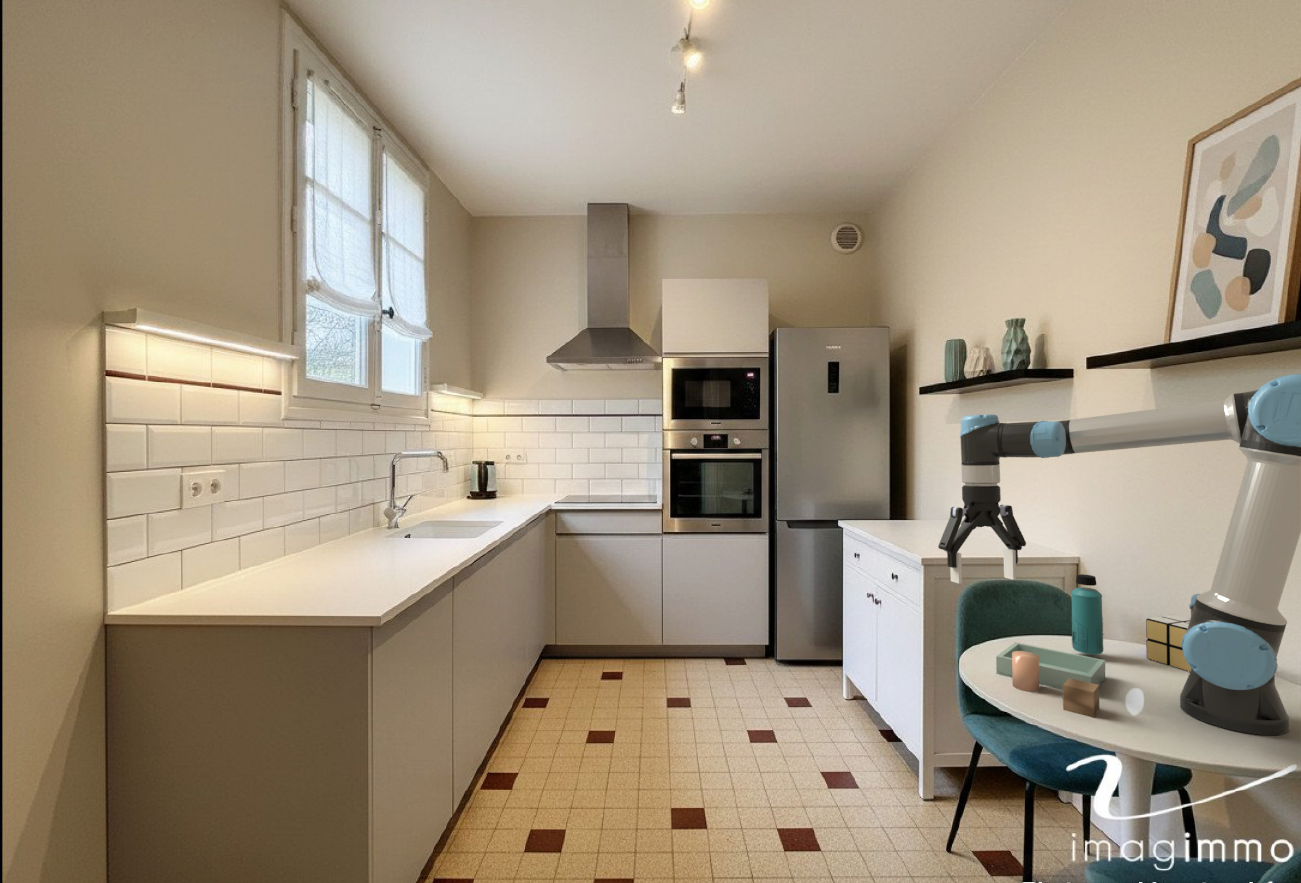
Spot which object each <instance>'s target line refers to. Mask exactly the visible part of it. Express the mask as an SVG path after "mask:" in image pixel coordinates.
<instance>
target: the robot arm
mask: <svg viewBox="0 0 1301 883" xmlns="http://www.w3.org/2000/svg"><path fill="white" fill-rule="evenodd" d="M959 439H960V456H961V465H960V466H961V482H962V483H963V485H962V486H961V495H962V496H961V498H962V501H963V507H957V506H952V507H950V512H949V513H950V514H949V518H948V521H947V524H946V526H945V529H944V531H943V534H942V536H941V539H940V541H939V543H938V546H937V547H938V549H939V550H942V551H944V552H946V554H947V555H946V556H947V557H946V558H947V559H946V560H947V567H948V568H950V569H949V571H950V575H949V576H950V582H952V583H955V584H959V585H960V584H963V576H962V575H963V574H962V573H963V571H962V570H963V567H962V566H963V564H962V553H961V552H959V550H960V549H961V547H962V546H963V545H964V543H965V542H966V540H967V539H968V537H969V536H970V535H971V533H972V531H974V530H975V529H977V528H983V527H988V528H989V527H990V528H991V529H992V530H993V531H994V533H995V535H997V536H998V538H999V539H1000V540H1001V542H1002V543H1003V544H1004V546H1005V548H1003V549H1002V550H1003V551H1002V552H1003V577H1004V578H1005V579H1008V580H1012V581H1016V580H1017V564H1018V562H1019V556H1018V554H1019V553H1018V552H1019V551H1021V550H1022V549H1023V547H1026V545H1027V542H1026V539H1025V537H1024V535H1023V534H1022V531H1021V529H1020V526H1019V525H1018V522H1017V520H1016V519H1015V516H1014V511H1013V506H1012V505H1009V504H1007V505H1006V504H1000V505H999V503H1000V502H1001V487H1000V485H998V484H1000V482H1001V466H1000V465H1001V463H1000V459H1001V458H1040V459H1048V458H1060V457H1061V456H1063V455H1065V456H1066V455H1073V454H1081V453H1095V452H1105V451H1107V452H1108V451H1117V450H1118V451H1119V450H1128V449H1138V448H1149V447H1160V446H1161V447H1163V446H1172V445H1173V446H1175V445H1183V444H1185V445H1187V444H1195V443H1196V444H1197V443H1206V442H1218V441H1219V442H1220V441H1229V440H1231V441H1234V442H1236V443H1238V444H1239V446H1238V449H1239V451H1241V453H1242V454H1243V455H1244V456H1245V457H1246V460H1247V461H1246V465H1245V468H1244V472H1243V476H1242V479H1241V483H1240V486H1239V489H1238V494H1237V497H1236V500H1235V503H1234V508H1233V509H1232V513H1231V517H1230V520H1229V524H1228V528H1227V532H1226V535H1225V539H1224V542H1223V546H1222V549H1221V552H1220V556H1219V560H1218V564H1217V566H1216V570H1215V573H1214V576H1213V580H1212V583H1211V587H1210V589H1209V590H1207V591H1205V592H1202V593H1194V594H1193V595H1192V596H1191V597H1190V603H1189V605H1188V606H1189V609H1190V622H1189V625H1188V629H1187V632H1186V634H1185V635H1184V637H1183V639H1182V648H1183V649H1182V651H1183V654H1184V657H1185V659H1186V661H1187V663H1188V664H1189V666H1190V667H1191V672H1189V674H1188V676H1187V678H1186V682H1185V683H1184V685H1183V688H1182V690H1181V692H1180V696H1179V704H1180V705H1179V706H1180V708H1181V710H1182V711H1183V712H1184V713H1186V714H1187V715H1189V716H1190V717H1192V718H1195V719H1197V720H1199V721H1201V722H1204V723H1206V724H1209V725H1213V726H1215V727H1220V728H1222V729H1223V728H1224V729H1226V730H1230V731H1235V732H1240V733H1246V734H1253V735H1260V736H1261V735H1262V736H1279V735H1280V736H1281V735H1283V734H1286V733H1288V732H1289V730H1290V726H1289V725H1290V724H1289V722H1290V721H1289V719H1290V718H1289V715H1288V713H1287V710H1286V708H1285V705H1284V703H1283V701H1282V699H1281V697H1280V694H1279V692H1278V690H1277V687H1276V683H1275V678H1276V677H1275V675H1276V672H1277V670H1278V661H1277V660H1278V658H1277V657H1278V655H1279V654H1278V653H1279V650H1280V648H1281V644H1282V639H1283V637H1284V633H1285V630H1286V628H1287V624H1288V621H1287V619H1286V618H1285V617H1284V615H1282V613H1281V612H1280V610H1279V605H1280V602H1281V598H1282V595H1283V593H1284V588H1285V585H1286V582H1287V579H1288V576H1289V573H1290V570H1291V566H1292V562H1293V559H1294V556H1295V553H1296V549H1297V546H1298V543H1299V540H1300V536H1301V373H1294V374H1287V375H1282V376H1279V377H1277V378H1273V379H1271V380H1269V381H1268V382H1266V383H1265V384H1263V385H1261V386H1260V387H1259V388H1258V389H1256V390H1251V391H1247V392H1246V391H1245V392H1239V393H1231V394H1230V395H1229V396H1228V397H1227V398H1226V399H1223V400H1216V401H1210V402H1200V403H1193V404H1192V403H1191V404H1186V405H1178V406H1170V407H1159V408H1154V409H1153V408H1152V409H1145V410H1138V411H1129V412H1122V413H1121V412H1120V413H1113V414H1106V415H1105V414H1104V415H1099V416H1090V417H1083V418H1082V417H1081V418H1075V419H1064V420H1057V421H1056V420H1054V421H1053V420H1039V421H1023V422H1021V421H1020V422H1000V420H999V417H998V415H996V414H970V415H965V416H963V417H962V418H961V421H960V434H959ZM999 516H1000V517H1001V519H1000V517H999ZM1006 547H1007V548H1006Z"/></svg>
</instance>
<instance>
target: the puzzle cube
mask: <svg viewBox="0 0 1301 883" xmlns="http://www.w3.org/2000/svg"><path fill="white" fill-rule="evenodd" d="M1190 618H1191V617H1190ZM1190 618H1189V617H1185V616H1181V615H1176V614H1168V615H1163V616H1162V615H1161V616H1156V617H1147V618H1146V620H1145V627H1146V629H1145V632H1146V634H1145V635H1146V641H1145V642H1146V646H1145V647H1146V659H1147V660H1148V659H1149V661H1152V660H1153V661H1152V662H1155V661H1156V663H1158V664H1162V665H1165V666H1170V667H1172V668H1176V669H1178V670H1182V671H1185V672H1188V671H1189V672H1188V673H1190V672H1191V667H1190V666H1189V664H1188V663H1187V661H1186V659H1185V657H1184V654H1183V651H1182V649H1183V648H1182V639H1183V637H1184V635H1185V634H1186V632H1187V629H1188V625H1189V622H1190Z"/></svg>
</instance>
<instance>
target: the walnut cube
mask: <svg viewBox="0 0 1301 883" xmlns="http://www.w3.org/2000/svg"><path fill="white" fill-rule="evenodd" d="M1062 698H1063V699H1062V700H1063V701H1062V703H1063V704H1062V705H1063V707H1062V710H1063V711H1067V712H1070V713H1073V714H1078V715H1082V716H1085V717H1089V718H1095V717H1096V715H1097V714H1098V712H1099V711H1100V686H1099V685H1097V684H1093V683H1089V682H1084V681H1080V680H1075V679H1071V678H1069V679H1068V680H1067V681H1066V682H1065V683H1064V684H1063V689H1062Z"/></svg>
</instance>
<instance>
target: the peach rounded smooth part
mask: <svg viewBox="0 0 1301 883" xmlns="http://www.w3.org/2000/svg"><path fill="white" fill-rule="evenodd" d="M1011 678H1012V687H1013V688H1015V689H1016V690H1019V691H1022V692H1028V693H1029V692H1031V693H1036V692H1039V691H1040V685H1041V684H1040V683H1039V656H1038V655H1037V654H1034V653H1031V652H1026V651H1014V652H1012V677H1011Z"/></svg>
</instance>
